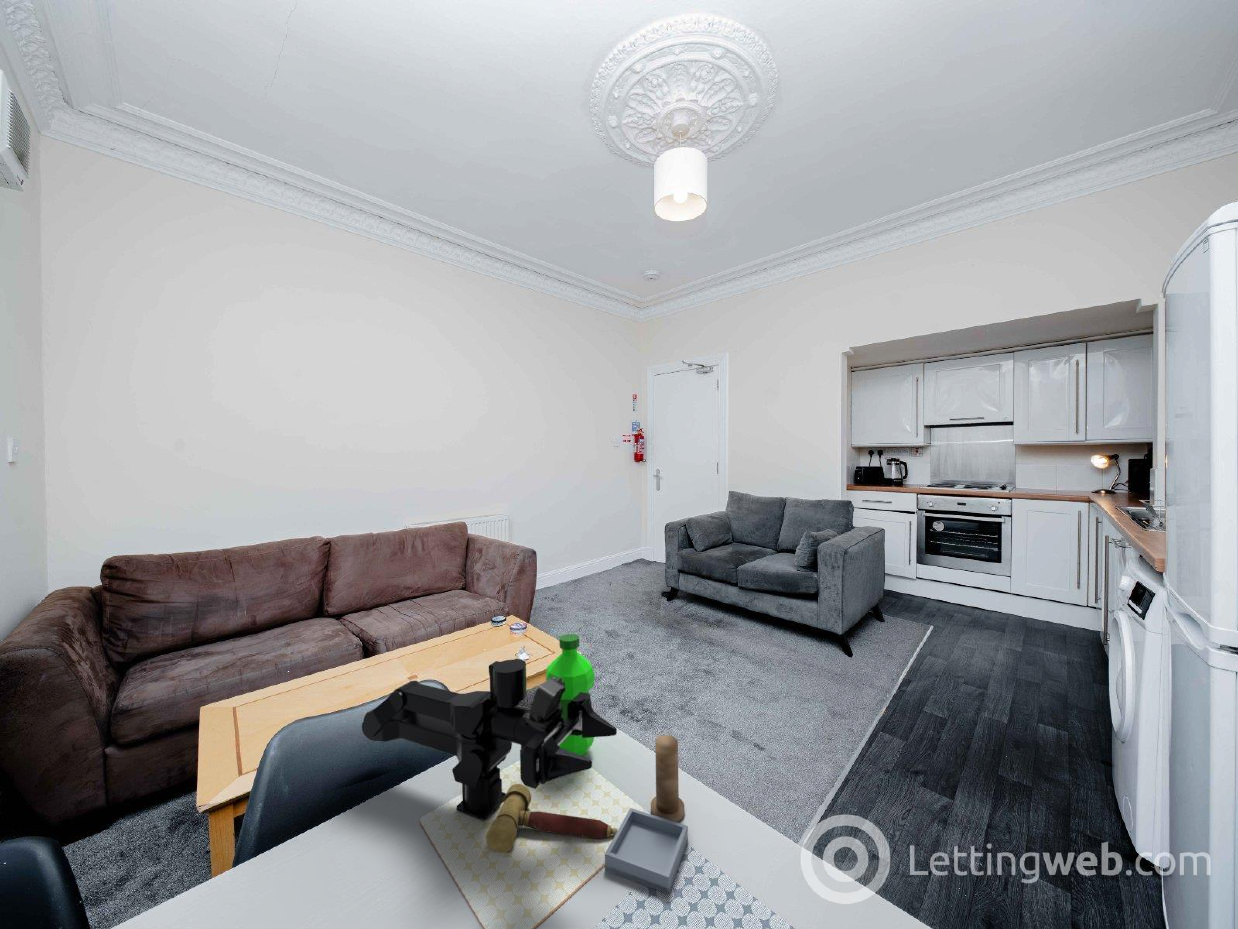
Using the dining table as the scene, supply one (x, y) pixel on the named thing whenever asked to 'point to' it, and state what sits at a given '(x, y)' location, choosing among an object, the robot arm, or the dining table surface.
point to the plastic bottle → (572, 685)
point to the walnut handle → (667, 780)
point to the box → (647, 850)
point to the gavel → (537, 822)
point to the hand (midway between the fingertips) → (604, 747)
